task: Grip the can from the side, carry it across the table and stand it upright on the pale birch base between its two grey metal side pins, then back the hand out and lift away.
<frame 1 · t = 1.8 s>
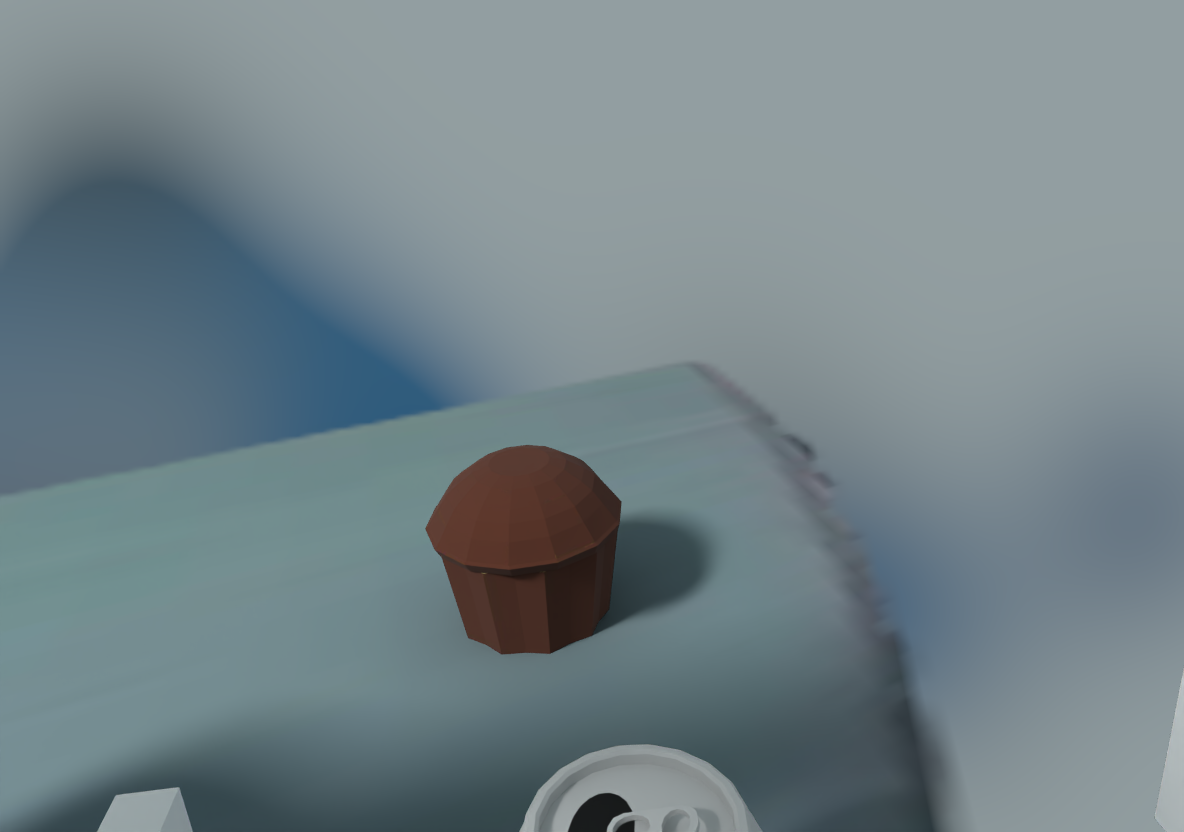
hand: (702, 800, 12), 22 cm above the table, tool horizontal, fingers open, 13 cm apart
muffin: (535, 614, 56), on the table
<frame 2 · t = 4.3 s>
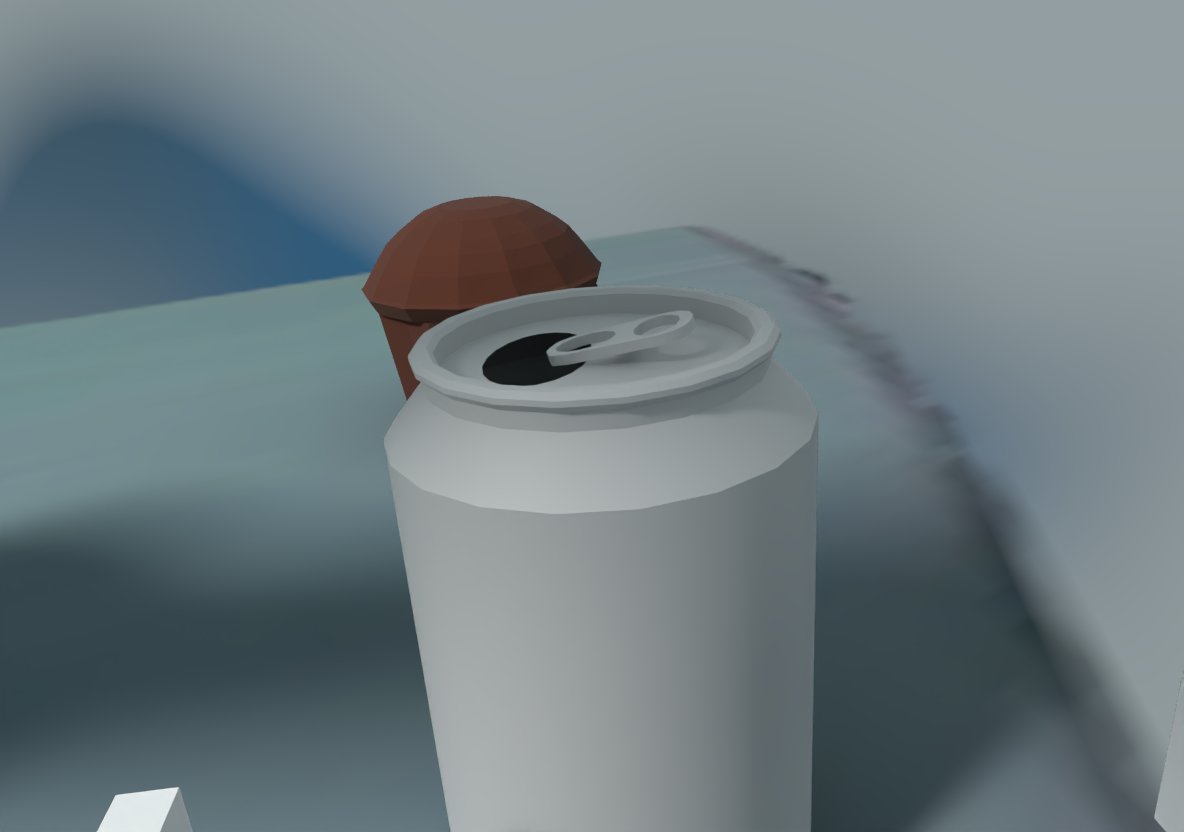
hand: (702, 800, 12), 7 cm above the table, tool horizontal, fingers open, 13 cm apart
muffin: (499, 408, 46), on the table
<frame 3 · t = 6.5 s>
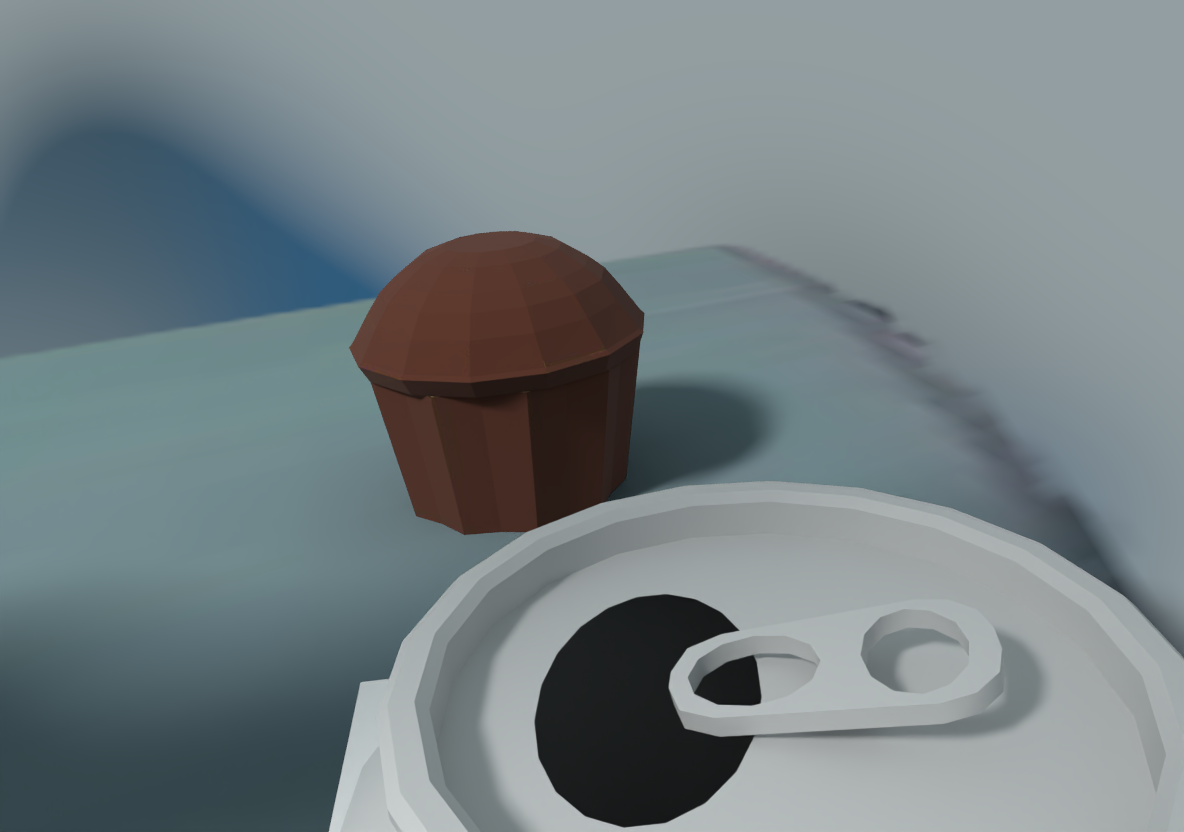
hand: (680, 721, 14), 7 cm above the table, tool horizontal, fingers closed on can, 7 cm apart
muffin: (517, 488, 38), on the table
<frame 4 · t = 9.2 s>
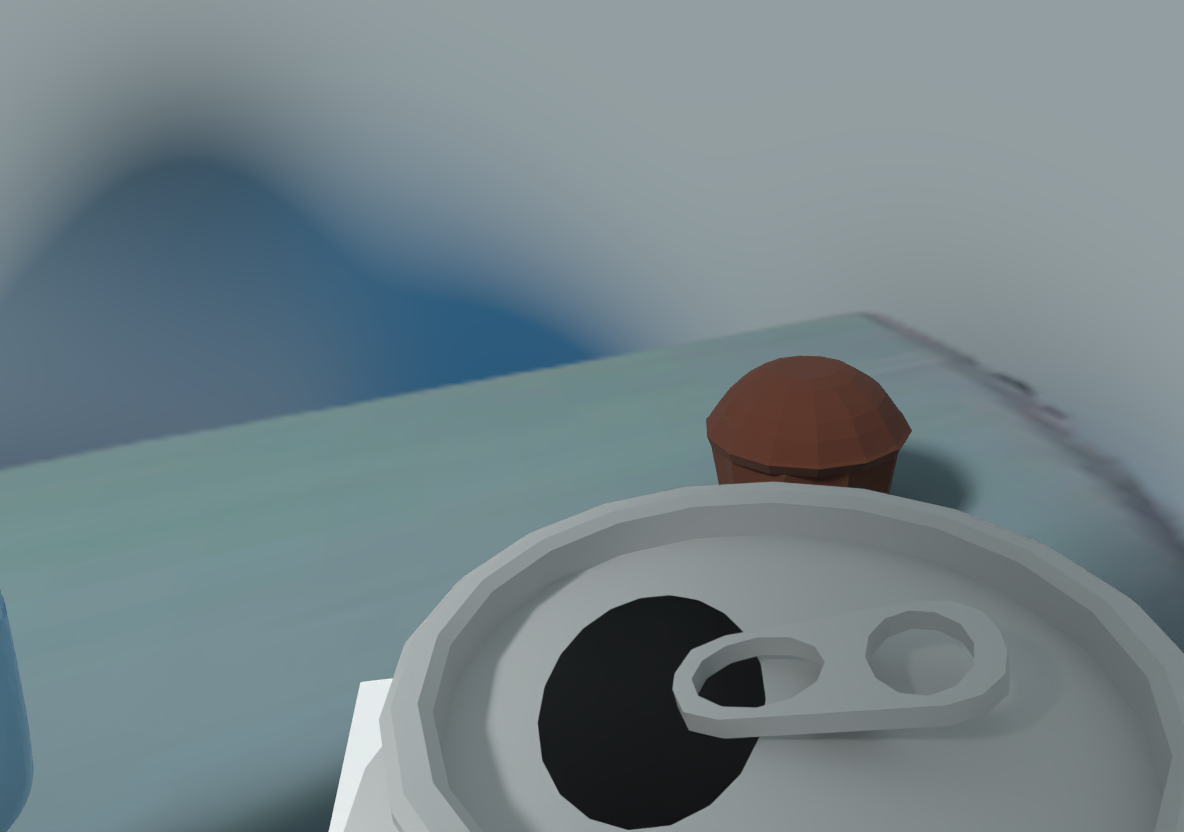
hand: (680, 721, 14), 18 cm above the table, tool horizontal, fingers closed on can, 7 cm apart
muffin: (804, 530, 55), on the table
when the fingers open (10 cm above the table, at t = 11.9 s): can drops 2 cm, resting on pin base.
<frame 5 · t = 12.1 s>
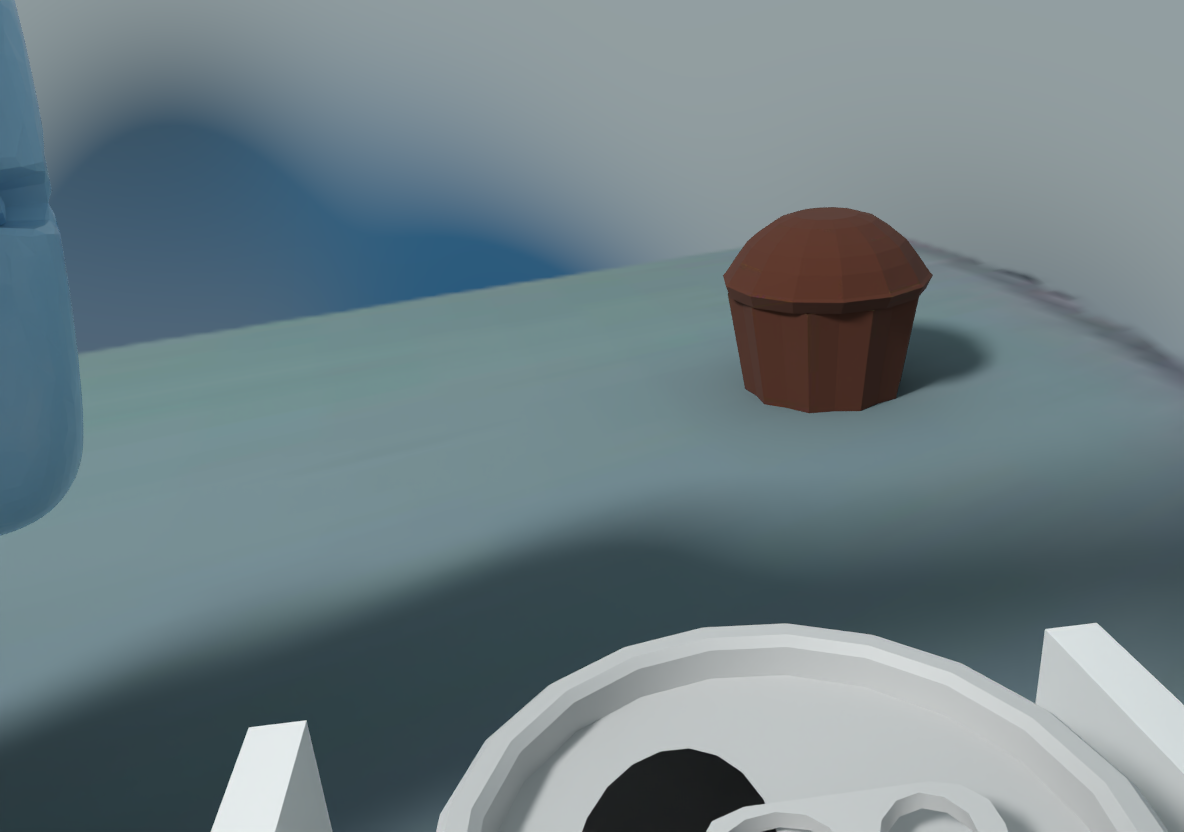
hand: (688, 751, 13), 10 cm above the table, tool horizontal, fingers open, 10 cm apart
muffin: (822, 388, 54), on the table
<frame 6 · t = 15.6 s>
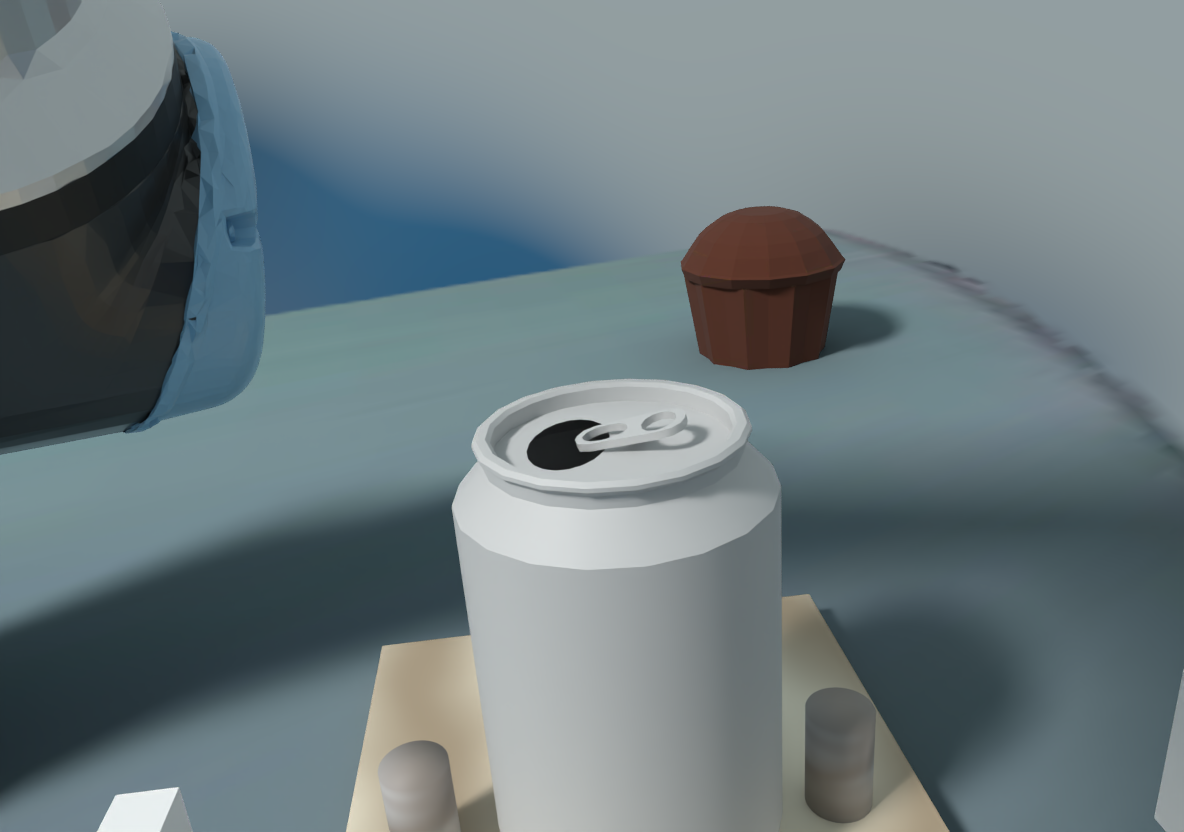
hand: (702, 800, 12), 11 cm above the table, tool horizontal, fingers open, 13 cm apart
muffin: (762, 353, 67), on the table
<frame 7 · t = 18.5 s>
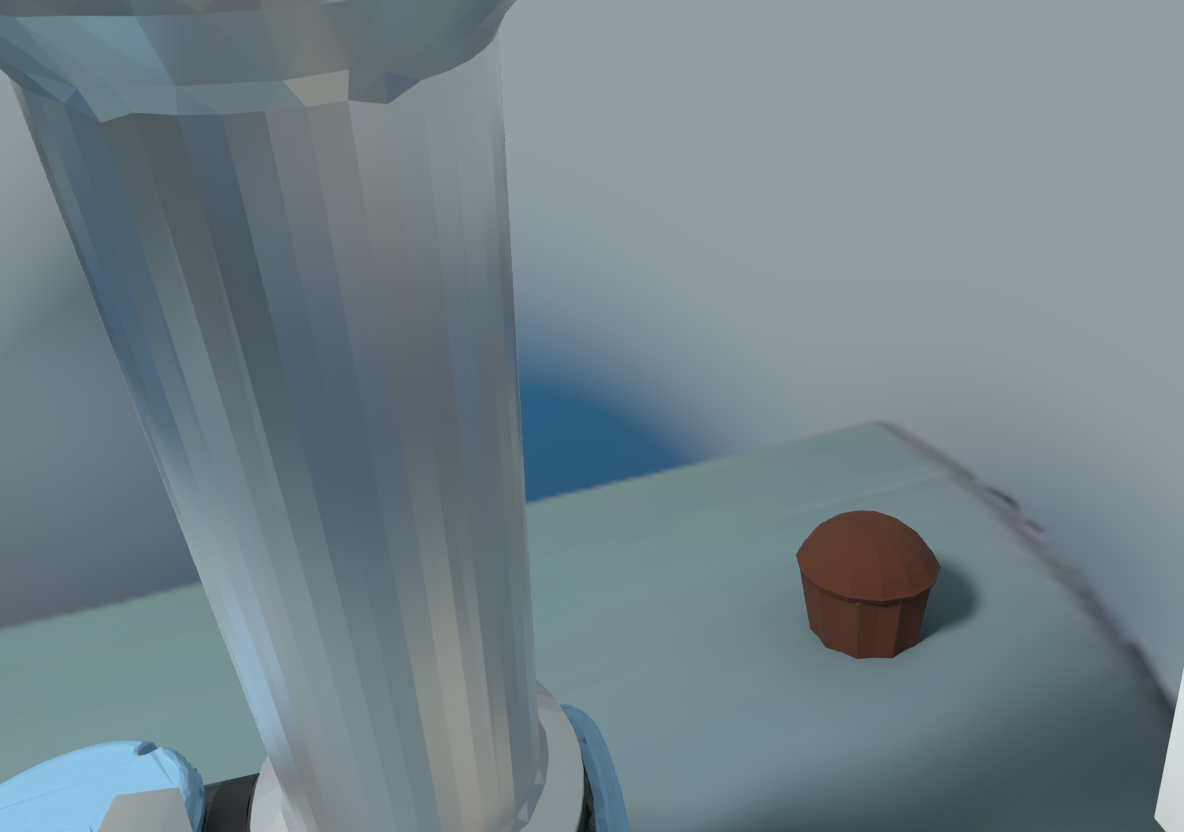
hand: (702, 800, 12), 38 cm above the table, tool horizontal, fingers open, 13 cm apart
muffin: (863, 630, 79), on the table
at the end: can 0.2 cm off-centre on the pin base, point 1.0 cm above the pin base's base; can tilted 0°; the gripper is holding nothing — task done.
